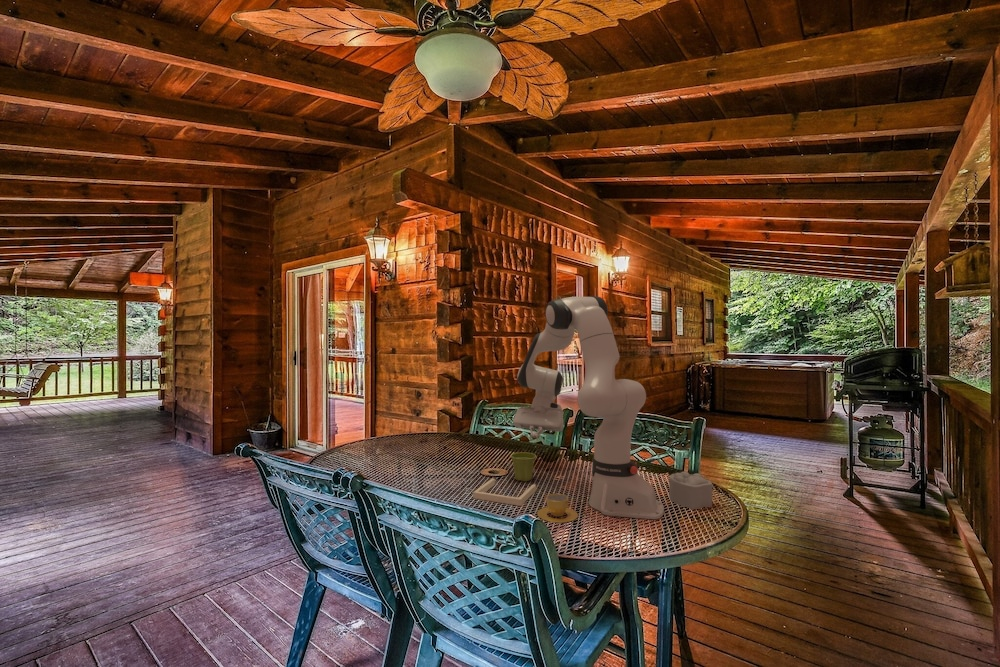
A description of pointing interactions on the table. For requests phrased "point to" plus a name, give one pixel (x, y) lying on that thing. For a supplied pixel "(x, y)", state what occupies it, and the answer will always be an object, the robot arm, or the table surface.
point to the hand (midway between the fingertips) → (534, 437)
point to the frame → (501, 498)
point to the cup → (557, 509)
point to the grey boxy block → (690, 490)
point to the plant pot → (523, 465)
